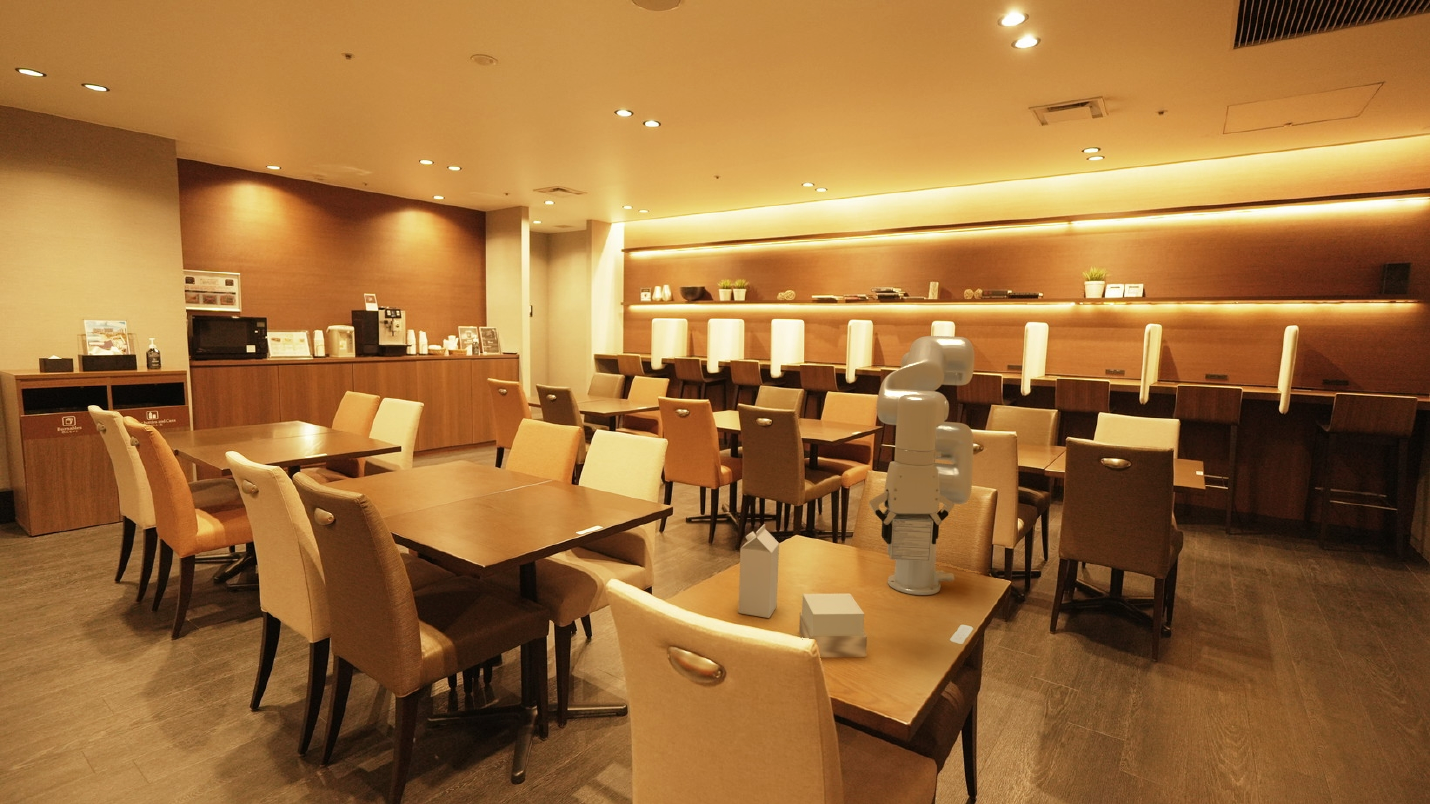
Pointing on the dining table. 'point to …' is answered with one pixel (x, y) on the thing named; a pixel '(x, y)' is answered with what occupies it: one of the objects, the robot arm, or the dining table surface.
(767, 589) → the milk carton
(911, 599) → the dining table surface
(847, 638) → the tower base
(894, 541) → the medicine box
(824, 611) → the tower top
